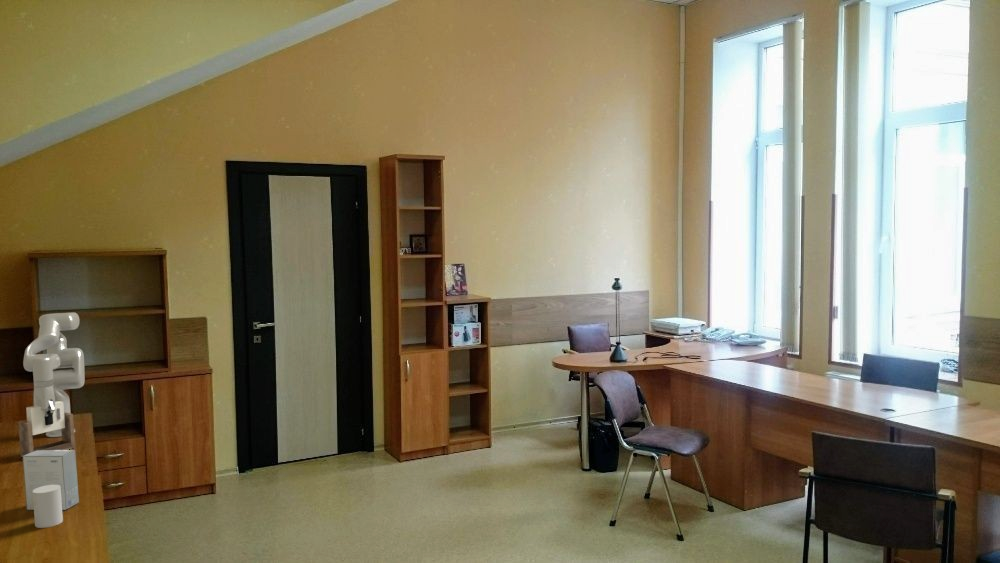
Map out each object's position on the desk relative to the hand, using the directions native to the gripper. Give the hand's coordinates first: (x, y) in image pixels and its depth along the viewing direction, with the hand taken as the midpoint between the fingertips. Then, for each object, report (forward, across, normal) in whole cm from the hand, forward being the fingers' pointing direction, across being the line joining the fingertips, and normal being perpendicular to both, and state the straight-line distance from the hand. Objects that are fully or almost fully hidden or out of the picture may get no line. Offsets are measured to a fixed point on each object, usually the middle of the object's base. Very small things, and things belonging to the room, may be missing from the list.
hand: (46, 423), depth 336 cm
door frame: (+13, 0, 0) cm, 13 cm away
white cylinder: (+15, +87, -44) cm, 98 cm away
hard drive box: (+14, +72, -35) cm, 81 cm away
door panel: (+3, 0, 0) cm, 3 cm away
